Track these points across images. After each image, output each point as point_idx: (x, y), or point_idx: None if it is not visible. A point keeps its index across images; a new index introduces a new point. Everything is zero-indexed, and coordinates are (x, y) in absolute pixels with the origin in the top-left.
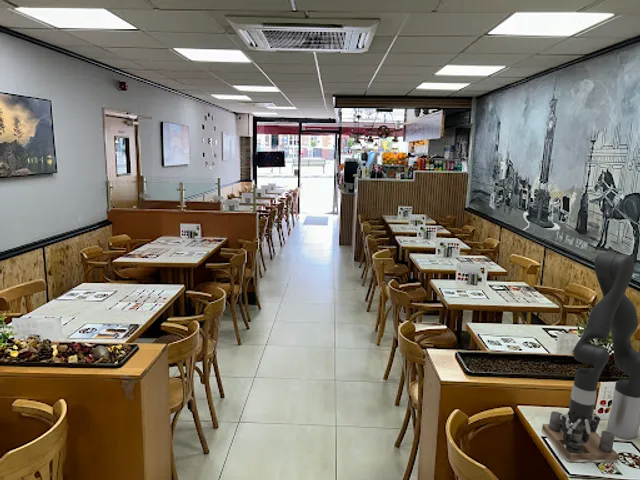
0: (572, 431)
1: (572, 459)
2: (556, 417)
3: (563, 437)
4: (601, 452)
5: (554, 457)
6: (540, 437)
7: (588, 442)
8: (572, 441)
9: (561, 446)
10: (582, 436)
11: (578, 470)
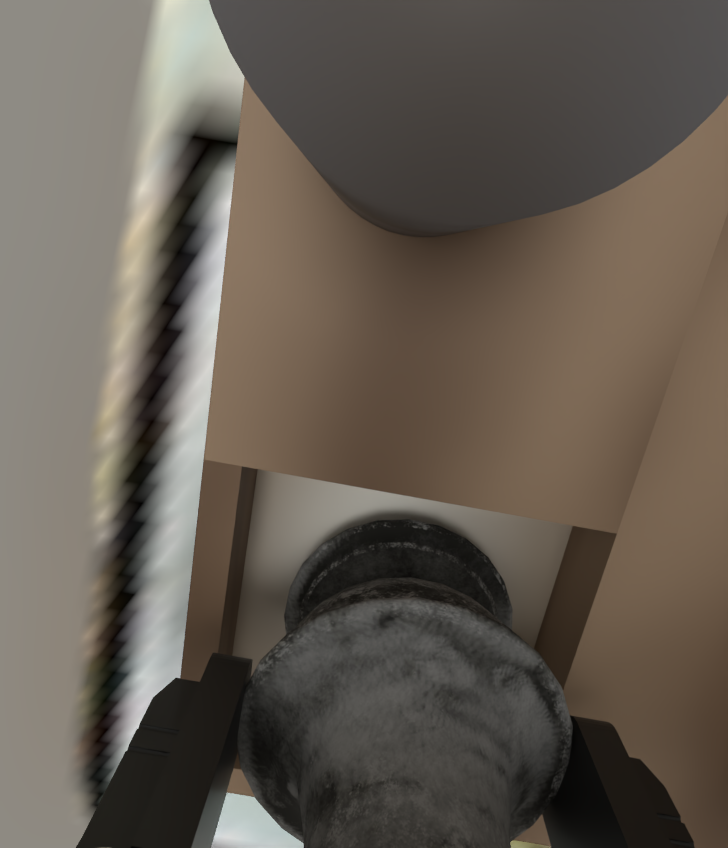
0: None
1: None
2: (298, 145)
3: (146, 721)
4: (701, 830)
5: (93, 595)
6: (156, 143)
7: None
8: (283, 802)
9: (190, 607)
10: (594, 797)
11: (237, 808)
